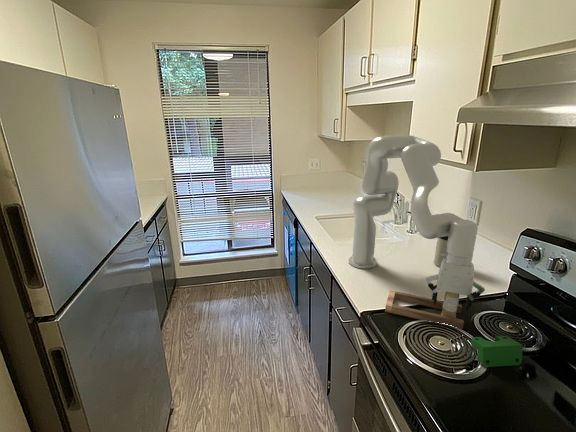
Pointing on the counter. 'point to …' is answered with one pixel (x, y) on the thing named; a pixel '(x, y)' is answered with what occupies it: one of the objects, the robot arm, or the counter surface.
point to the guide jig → (417, 313)
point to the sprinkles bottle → (450, 304)
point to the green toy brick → (498, 351)
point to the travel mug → (440, 249)
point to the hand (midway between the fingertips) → (450, 305)
